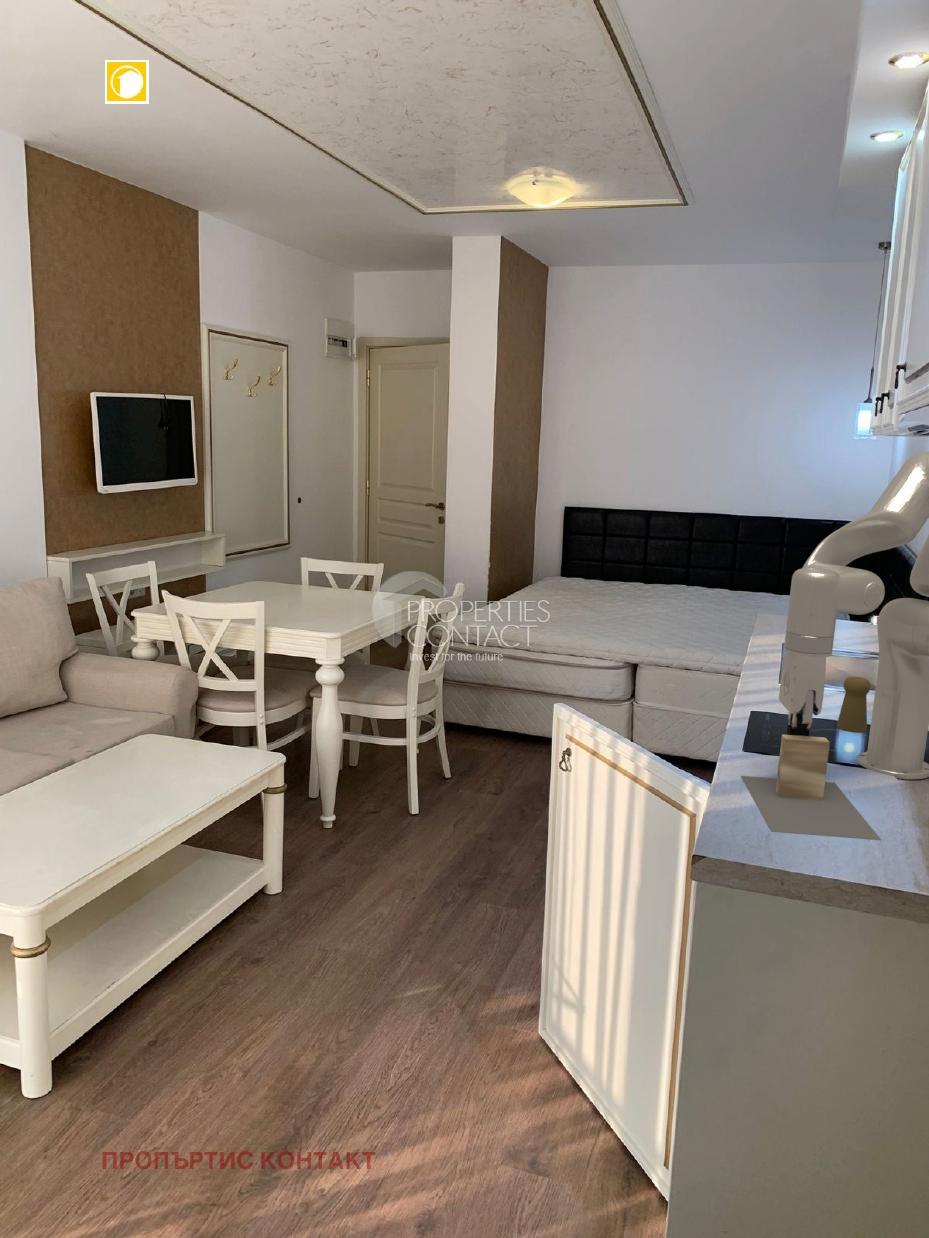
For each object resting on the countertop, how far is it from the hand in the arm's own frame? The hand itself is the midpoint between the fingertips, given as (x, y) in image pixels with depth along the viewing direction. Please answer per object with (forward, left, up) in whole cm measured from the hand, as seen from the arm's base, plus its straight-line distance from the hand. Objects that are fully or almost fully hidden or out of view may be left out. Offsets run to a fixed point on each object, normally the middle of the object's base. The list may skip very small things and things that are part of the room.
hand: (796, 749), depth 158 cm
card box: (+4, 0, -7) cm, 8 cm away
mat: (+8, 0, -7) cm, 11 cm away
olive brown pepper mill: (-41, +22, -8) cm, 47 cm away
